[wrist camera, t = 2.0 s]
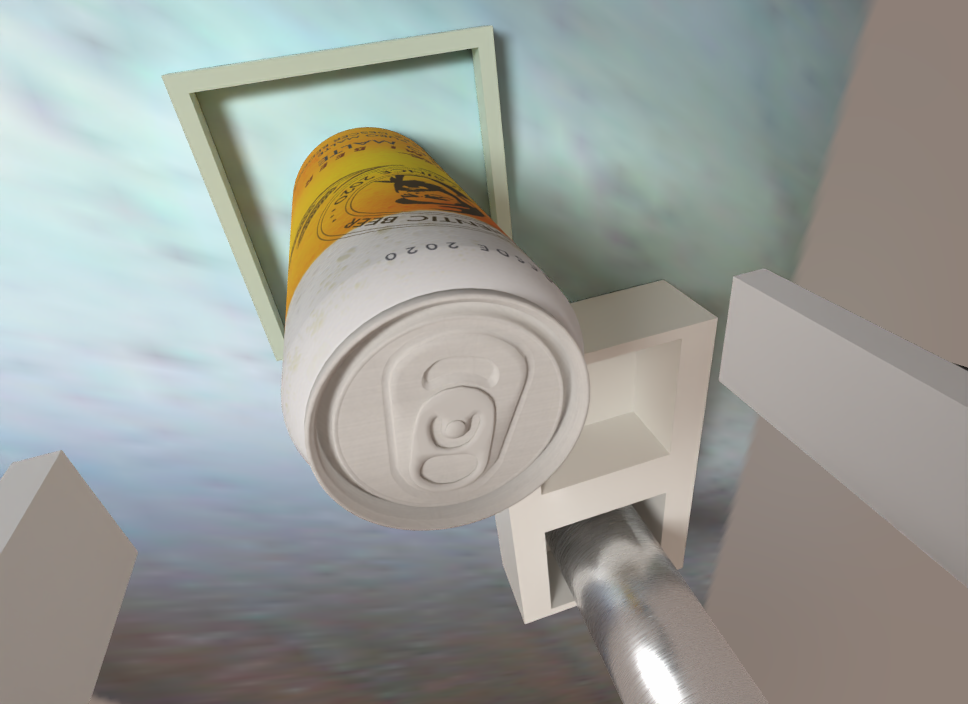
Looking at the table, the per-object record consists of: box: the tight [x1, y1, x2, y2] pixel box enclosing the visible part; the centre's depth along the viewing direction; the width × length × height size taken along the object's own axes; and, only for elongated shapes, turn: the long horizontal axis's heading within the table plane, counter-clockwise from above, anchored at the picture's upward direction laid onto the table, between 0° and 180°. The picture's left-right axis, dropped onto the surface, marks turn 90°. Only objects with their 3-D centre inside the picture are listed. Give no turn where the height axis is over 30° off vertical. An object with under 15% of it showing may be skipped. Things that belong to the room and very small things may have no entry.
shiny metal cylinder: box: [545, 504, 769, 704], centre depth 29 cm, size 6×6×14 cm
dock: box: [495, 280, 718, 624], centre depth 31 cm, size 19×11×4 cm, turn 7°
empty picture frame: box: [162, 26, 513, 361], centre depth 22 cm, size 11×11×1 cm
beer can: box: [281, 127, 590, 530], centre depth 16 cm, size 6×6×15 cm
